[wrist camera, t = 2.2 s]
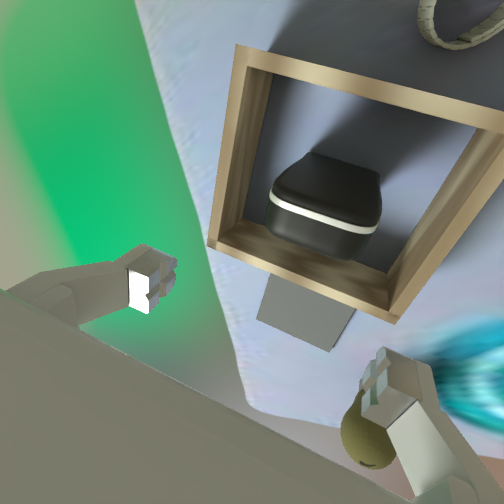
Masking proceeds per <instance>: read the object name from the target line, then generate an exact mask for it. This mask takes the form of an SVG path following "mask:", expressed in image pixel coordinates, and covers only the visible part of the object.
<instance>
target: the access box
mask: <svg viewBox="0 0 504 504" xmlns="http://www.w3.org/2000/svg"><path fill="white" fill-rule="evenodd" d="M274 73H276V74H280V75H283V76H287V77H291V78H295V79H298V80H302V81H306V82H310V83H313V84H317V85H321V86H325V87H328V88H332V89H336V90H339V91H343V92H347V93H351V94H354V95H358V96H362V97H366V98H369V99H373V100H377V101H381V102H384V103H388V104H392V105H396V106H399V107H403V108H407V109H410V110H414V111H418V112H422V113H425V114H429V115H433V116H437V117H440V118H444V119H448V120H452V121H455V122H459V123H463V124H466V125H470V126H474V127H478V129H477V130H476V132H475V133H474V135H473V137H472V138H471V140H470V141H469V143H468V145H467V146H466V148H465V149H464V151H463V153H462V154H461V156H460V157H459V159H458V161H457V162H456V164H455V165H454V167H453V169H452V170H451V172H450V173H449V175H448V177H447V178H446V180H445V181H444V183H443V185H442V186H441V188H440V189H439V191H438V193H437V194H436V196H435V197H434V199H433V201H432V202H431V204H430V205H429V207H428V209H427V210H426V212H425V213H424V215H423V217H422V218H421V220H420V221H419V223H418V225H417V226H416V228H415V229H414V231H413V233H412V234H411V236H410V237H409V239H408V241H407V242H406V244H405V245H404V247H403V249H402V250H401V252H400V253H399V255H398V257H397V258H396V260H395V261H394V263H393V265H392V266H391V268H390V269H389V271H388V273H384V272H382V271H379V270H377V269H374V268H371V267H369V266H366V265H364V264H361V263H358V262H356V261H353V260H349V261H340V260H336V259H333V258H330V257H327V256H325V255H322V254H319V253H316V252H313V251H311V250H308V249H305V248H303V247H300V246H297V245H295V244H292V243H290V242H287V241H284V240H282V239H280V238H277V237H275V236H274V235H272V234H271V233H270V232H269V230H268V229H267V227H265V226H262V225H260V224H257V223H255V222H252V221H249V220H247V219H244V218H242V217H243V212H244V207H245V203H246V198H247V194H248V189H249V184H250V180H251V175H252V171H253V166H254V161H255V157H256V152H257V148H258V143H259V138H260V134H261V129H262V125H263V120H264V115H265V111H266V106H267V102H268V97H269V92H270V88H271V83H272V79H273V74H274ZM503 179H504V112H503V111H500V110H496V109H492V108H488V107H484V106H480V105H476V104H472V103H468V102H464V101H460V100H456V99H452V98H448V97H444V96H440V95H436V94H432V93H428V92H424V91H420V90H417V89H413V88H409V87H405V86H401V85H397V84H393V83H389V82H385V81H381V80H377V79H373V78H369V77H365V76H361V75H357V74H353V73H349V72H345V71H341V70H337V69H334V68H330V67H326V66H322V65H318V64H314V63H310V62H306V61H302V60H298V59H294V58H290V57H286V56H282V55H278V54H274V53H270V52H266V51H262V50H258V49H255V48H251V47H247V46H243V45H239V44H236V47H235V54H234V61H233V68H232V75H231V82H230V88H229V95H228V102H227V109H226V116H225V123H224V129H223V136H222V143H221V150H220V157H219V164H218V171H217V177H216V184H215V191H214V198H213V205H212V212H211V219H210V225H209V232H208V239H207V246H208V247H210V248H212V249H215V250H217V251H220V252H222V253H224V254H227V255H229V256H232V257H234V258H236V259H239V260H241V261H243V262H246V263H248V264H251V265H253V266H255V267H258V268H260V269H263V270H265V271H267V272H270V273H272V274H275V275H277V276H279V277H282V278H284V279H286V280H289V281H291V282H294V283H296V284H298V285H301V286H303V287H306V288H308V289H310V290H313V291H315V292H318V293H320V294H322V295H325V296H327V297H329V298H332V299H334V300H337V301H339V302H341V303H344V304H346V305H349V306H351V307H353V308H356V309H358V310H361V311H363V312H365V313H368V314H370V315H372V316H375V317H377V318H380V319H382V320H384V321H387V322H389V323H392V324H394V325H395V324H396V323H397V321H398V320H399V319H400V317H401V316H402V315H403V313H404V312H405V311H406V309H407V308H408V307H409V305H410V304H411V303H412V301H413V300H414V299H415V297H416V296H417V295H418V293H419V292H420V291H421V289H422V288H423V286H424V285H425V284H426V282H427V281H428V280H429V278H430V277H431V276H432V274H433V273H434V272H435V270H436V269H437V268H438V266H439V265H440V264H441V262H442V261H443V260H444V258H445V257H446V256H447V254H448V253H449V252H450V250H451V249H452V248H453V246H454V245H455V244H456V242H457V241H458V240H459V238H460V237H461V235H462V234H463V233H464V231H465V230H466V229H467V227H468V226H469V225H470V223H471V222H472V221H473V219H474V218H475V217H476V215H477V214H478V213H479V211H480V210H481V209H482V207H483V206H484V205H485V203H486V202H487V201H488V199H489V198H490V197H491V195H492V194H493V193H494V191H495V190H496V188H497V187H498V186H499V184H500V183H501V182H502V180H503Z"/></svg>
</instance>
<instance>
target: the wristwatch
mask: <svg viewBox="0 0 504 504" xmlns="http://www.w3.org/2000/svg"><path fill="white" fill-rule="evenodd" d="M436 1H437V0H420V1H419V7H418V11H417V18H418V19H417V22H418V27H419V31H420V33H421V35H422V36H424V37H423V38H424V39H425V40H427V41H428V42H430V43H431V44H434V45H437V46H440V47H443V48H447V49H450V50H459V49H460V50H462V49H466V48H469V47H473V46H476V45H478V44H480V43H481V42H484V41H486V40H488V39H489V38H491V37H493V35H496V34H497V33H498V32H500V31H501V30H502V29H504V1H503V2H502V3H501V4H500V5H499V7H498V8H497V9H496V10H495V11H494V12H493V13H492V14H491V15H490V16H489V18H487V19H485V20H484V21H483V22H481V23H480V24H479V26H476V27H474V28H473V29H471V30H469V31H468V32H466V33H463V34H461V35H459V36H458V39H460V40H455V41H451V42H443V41H442V40H441V39H439V38H438V37H437V34H436V32H435V30H434V29H433V28H434V22H433V16H434V6H435V4H436Z"/></svg>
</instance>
